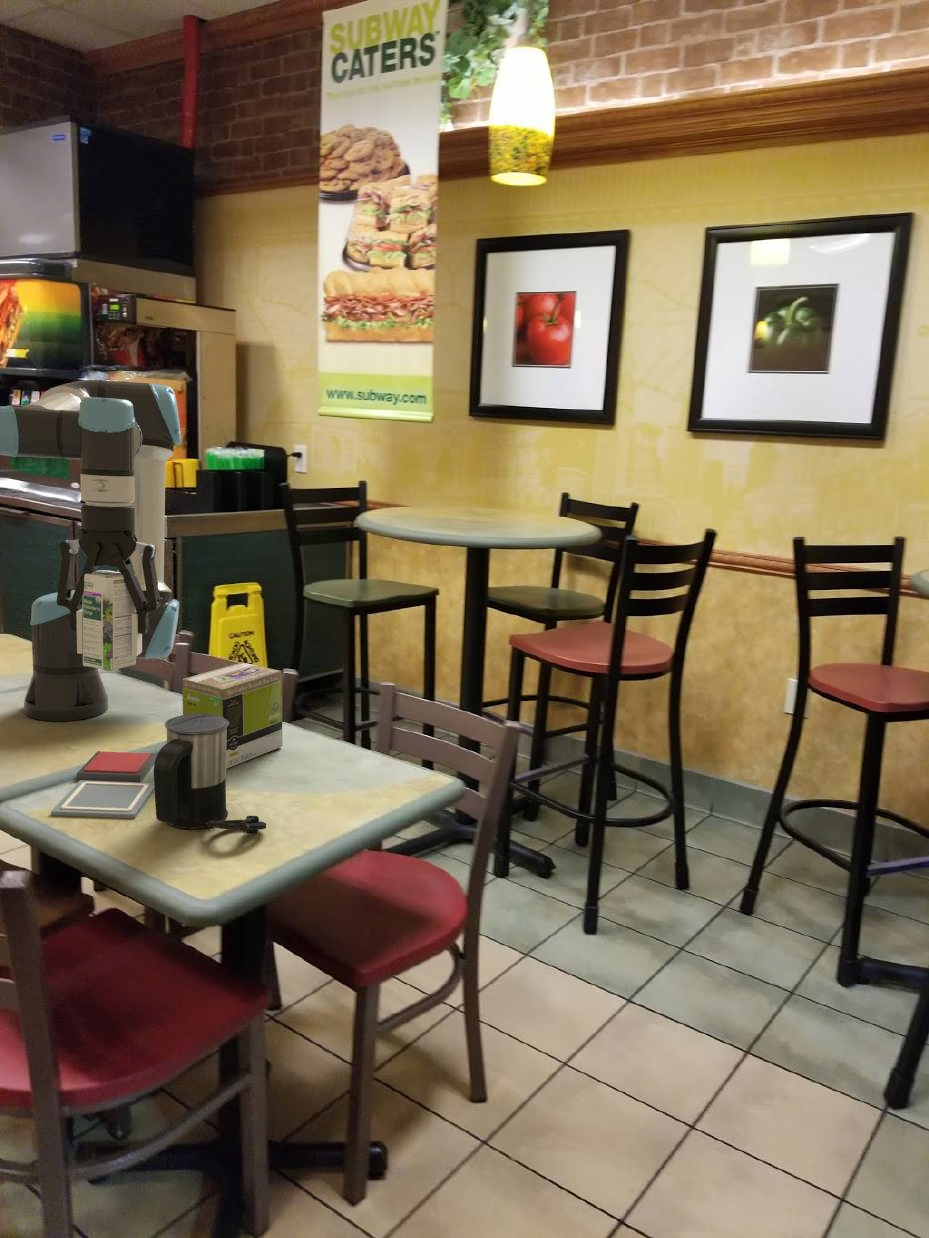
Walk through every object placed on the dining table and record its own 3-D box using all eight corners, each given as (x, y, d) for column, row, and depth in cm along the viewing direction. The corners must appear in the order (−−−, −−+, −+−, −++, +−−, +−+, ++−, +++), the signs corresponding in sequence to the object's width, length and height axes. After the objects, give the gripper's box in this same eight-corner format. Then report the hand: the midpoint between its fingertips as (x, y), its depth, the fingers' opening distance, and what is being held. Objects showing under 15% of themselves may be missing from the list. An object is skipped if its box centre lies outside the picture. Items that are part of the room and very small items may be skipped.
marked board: (80, 783, 147) (79, 779, 147) (156, 786, 148) (156, 782, 148) (51, 815, 135) (51, 810, 135) (134, 818, 136) (134, 813, 136)
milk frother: (173, 803, 142) (173, 711, 139) (276, 807, 143) (278, 715, 140) (146, 844, 129) (145, 743, 125) (261, 848, 129) (263, 748, 126)
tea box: (242, 736, 174) (243, 660, 170) (283, 748, 169) (285, 670, 166) (180, 758, 161) (180, 676, 158) (222, 772, 156) (223, 687, 153)
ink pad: (97, 757, 158) (97, 749, 158) (157, 760, 159) (157, 751, 159) (76, 779, 149) (76, 771, 148) (140, 782, 149) (140, 773, 149)
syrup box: (81, 666, 142) (79, 572, 139) (112, 659, 147) (110, 568, 144) (107, 672, 139) (106, 576, 136) (138, 664, 144) (137, 572, 141)
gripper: (27, 501, 134) (32, 655, 138) (170, 509, 135) (171, 661, 140) (47, 498, 141) (51, 644, 146) (183, 505, 143) (183, 650, 147)
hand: (109, 652), depth 143 cm, fingers closed on syrup box, 7 cm apart
